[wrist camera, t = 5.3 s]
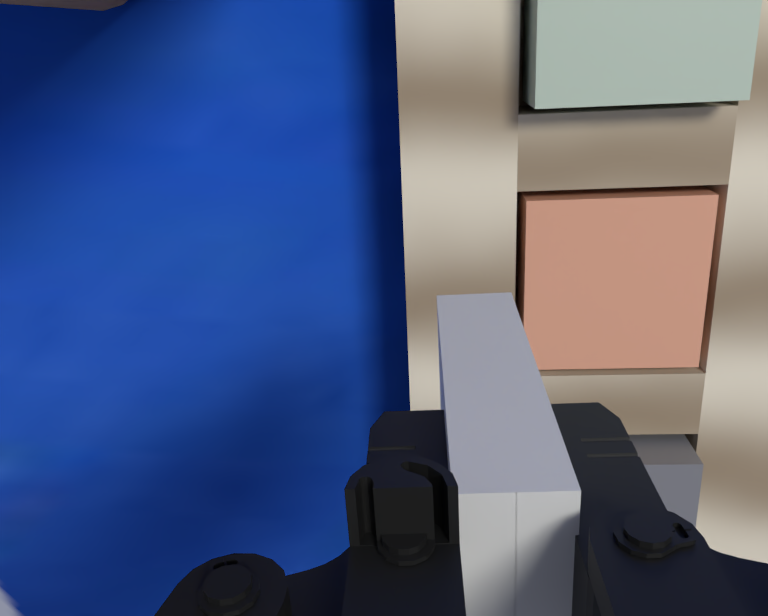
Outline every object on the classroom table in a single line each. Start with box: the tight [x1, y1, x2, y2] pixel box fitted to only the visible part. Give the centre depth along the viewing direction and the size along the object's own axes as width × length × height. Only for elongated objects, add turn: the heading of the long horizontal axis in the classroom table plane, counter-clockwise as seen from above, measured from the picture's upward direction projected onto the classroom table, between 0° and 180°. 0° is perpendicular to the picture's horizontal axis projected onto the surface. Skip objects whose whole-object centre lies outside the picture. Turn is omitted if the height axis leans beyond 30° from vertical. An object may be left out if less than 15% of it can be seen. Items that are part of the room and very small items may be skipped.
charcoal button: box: [629, 434, 704, 528], centre depth 27 cm, size 6×6×3 cm
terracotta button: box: [515, 185, 719, 370], centre depth 25 cm, size 6×6×3 cm
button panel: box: [395, 0, 768, 563], centre depth 26 cm, size 28×14×4 cm, turn 3°
